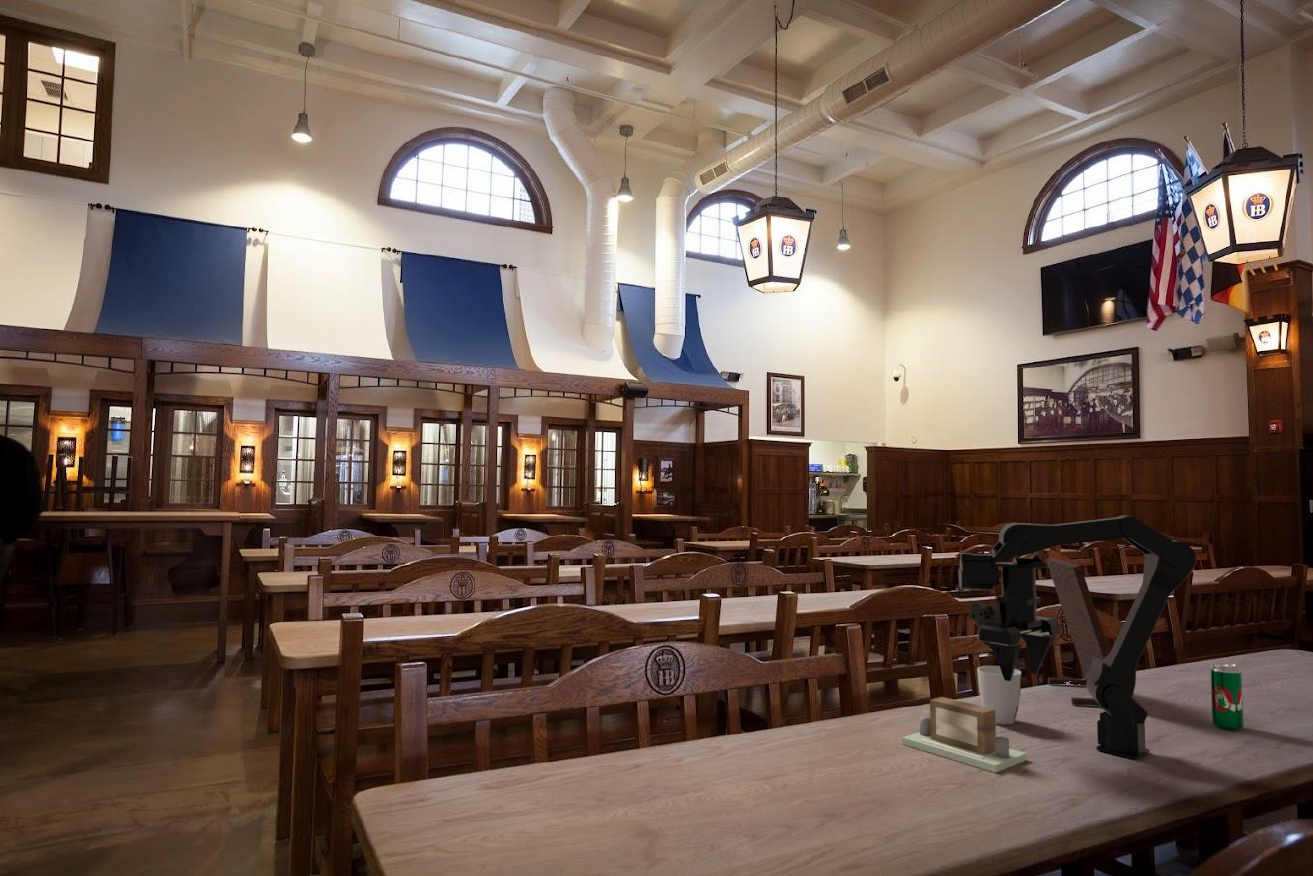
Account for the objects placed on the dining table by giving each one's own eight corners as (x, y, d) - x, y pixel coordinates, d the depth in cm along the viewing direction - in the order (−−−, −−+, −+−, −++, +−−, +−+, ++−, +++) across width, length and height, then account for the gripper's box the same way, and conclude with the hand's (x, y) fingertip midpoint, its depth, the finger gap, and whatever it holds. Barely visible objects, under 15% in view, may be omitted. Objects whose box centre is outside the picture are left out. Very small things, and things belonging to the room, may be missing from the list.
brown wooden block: (996, 750, 137) (995, 709, 137) (984, 755, 135) (983, 713, 135) (942, 735, 145) (941, 696, 146) (930, 739, 143) (929, 700, 143)
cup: (1029, 727, 154) (1028, 675, 155) (987, 727, 155) (986, 675, 155) (1011, 715, 162) (1010, 666, 163) (972, 715, 163) (971, 665, 163)
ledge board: (1026, 760, 136) (1026, 735, 136) (995, 772, 130) (994, 746, 130) (934, 733, 150) (934, 711, 150) (902, 744, 144) (901, 720, 144)
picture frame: (1128, 709, 167) (1123, 566, 169) (1074, 706, 169) (1070, 565, 171) (1094, 685, 187) (1090, 558, 189) (1046, 683, 189) (1043, 557, 191)
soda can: (1233, 724, 157) (1231, 662, 158) (1250, 731, 152) (1247, 668, 153) (1206, 723, 157) (1204, 662, 158) (1222, 731, 152) (1219, 667, 153)
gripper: (1004, 583, 158) (1006, 662, 157) (950, 590, 147) (952, 675, 146) (1060, 589, 149) (1062, 673, 148) (1007, 597, 138) (1010, 688, 137)
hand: (1020, 677), depth 145 cm, fingers open, 9 cm apart
